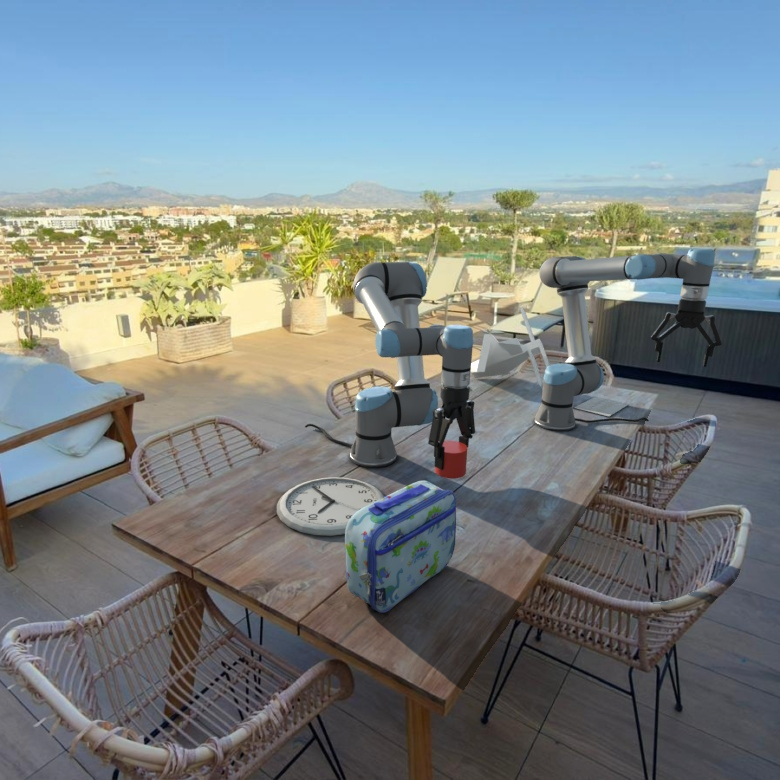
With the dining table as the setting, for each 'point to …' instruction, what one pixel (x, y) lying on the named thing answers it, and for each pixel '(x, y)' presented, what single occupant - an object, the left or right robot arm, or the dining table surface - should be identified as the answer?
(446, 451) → the canister
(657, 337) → the right robot arm
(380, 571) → the lunch box
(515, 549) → the dining table surface
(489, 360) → the white plastic object
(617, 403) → the invitation card
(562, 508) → the dining table surface
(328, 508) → the wall clock
